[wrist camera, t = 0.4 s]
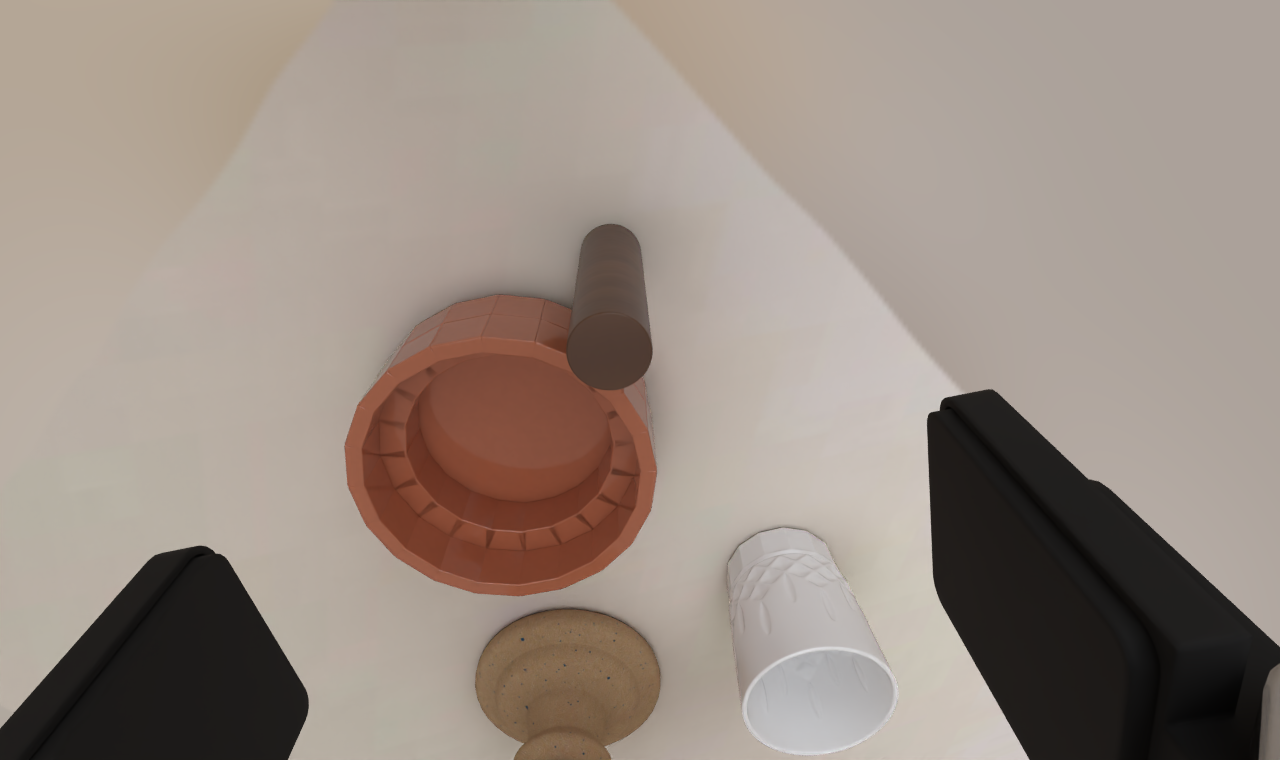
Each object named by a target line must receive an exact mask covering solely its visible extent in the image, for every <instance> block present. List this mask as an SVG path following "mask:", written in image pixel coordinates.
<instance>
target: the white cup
mask: <svg viewBox="0 0 1280 760" xmlns="http://www.w3.org/2000/svg"><path fill="white" fill-rule="evenodd" d="M727 588H728V595H729V601H730V602H729V614H730V622H731V632H732V640H733V651H734V658H735V665H736V672H737V679H738V687H739V694H740V701H741V709H742V716H743V720H744V723H745V725H746V727H747V729H748V730H749V732H750V733H751V734H752V735H753V736H754V737H755V738H756V739H757V740H758V741H759V742H761V743H762V744H764V745H766V746H767V747H769V748H772V749H774V750H776V751H779V752H783V753H787V754H792V755H801V756H817V755H826V754H831V753H836V752H840V751H843V750H846V749H849V748H851V747H854V746H856V745H858V744H860V743H862V742H864V741H866V740H867V739H869V738H870V737H872V736H873V735H874V734H876V733H877V732H878V731H879V730H880V729H881V728H882V727H883V726H884V725H885V724H886V723H887V722H888V720H889V719H890V718H891V716H892V714H893V712H894V710H895V708H896V705H897V702H898V685H897V681H896V678H895V676H894V674H893V672H892V670H891V668H890V666H889V664H888V662H887V660H886V658H885V656H884V654H883V652H882V650H881V648H880V646H879V644H878V642H877V640H876V638H875V636H874V634H873V632H872V630H871V628H870V625H869V623H868V621H867V619H866V616H865V614H864V613H863V611H862V609H861V608H860V606H859V604H858V602H857V600H856V597H855V595H854V594H853V592H852V590H851V588H850V587H849V585H848V582H847V580H846V579H845V578H844V577H843V576H842V574H841V573H840V571H839V569H838V568H837V566H836V563H835V561H834V559H833V557H832V555H831V553H830V551H829V549H828V547H827V545H826V543H825V542H823V541H822V540H820V539H819V538H817V537H815V536H814V535H812V534H811V533H809V532H808V531H804V530H798V529H791V528H784V527H783V528H778V529H773V530H769V531H764V532H760V533H758V534H756V535H755V536H753V537H752V538H750V539H748V540H747V541H745V542H744V543H742V544H741V545H739V547H738V548H737V550H736V551H735V553H734V554H733V556H732V558H731V559H730V561H729V562H728V567H727Z"/></svg>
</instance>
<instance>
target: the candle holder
mask: <svg viewBox="0 0 1280 760" xmlns="http://www.w3.org/2000/svg"><path fill="white" fill-rule="evenodd" d="M475 688H476V693H477V698H478V701H479V703H480V705H481V708H482V710H483V711H484V713H485V714H486V716H487V717H488V719H489V720H490V721H491V722H492V723H493V724H494V725H495V726H496V727H497V728H499V729H500V730H501V731H503V732H504V733H505V734H507V735H508V736H510V737H512V738H514V739H515V740H517V741H520V742H522V743H525V744H524V745H522V747H521V748H520V749H519V750H518V752H517V754H516V755H515V758H514V760H611V757H610V755H609V753H608V751H607V749H606V748H605V747H604V746H606V745H609V744H611V743H614V742H616V741H619V740H620V739H622V738H624V737H626V736H628V735H629V734H631V733H632V732H633V731H635V730H636V729H637V728H639V727H640V726H641V725H642V724H643V723H644V722H645V721H646V720H647V718H648V717H649V715H650V714H651V712H652V711H653V709H654V707H655V704H656V702H657V700H658V697H659V692H660V670H659V666H658V662H657V659H656V657H655V655H654V653H653V651H652V649H651V647H650V646H649V645H648V643H647V642H646V641H645V639H644V638H642V637H641V636H640V635H639V634H638V633H637V632H636V631H635V630H633V629H632V628H630V627H629V626H627V625H626V624H624V623H622V622H620V621H618V620H616V619H614V618H612V617H609V616H606V615H603V614H600V613H595V612H590V611H585V610H573V609H564V610H551V611H546V612H540V613H536V614H533V615H530V616H527V617H524V618H522V619H520V620H518V621H515V622H513V623H512V624H510V625H509V626H507V627H506V628H504V629H503V630H501V631H500V632H499V633H498V634H497V635H496V636H495V637H494V638H493V639H492V640H491V641H490V643H489V644H488V645H487V646H486V648H485V650H484V652H483V654H482V656H481V658H480V660H479V663H478V667H477V671H476V681H475Z"/></svg>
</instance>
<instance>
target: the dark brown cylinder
mask: <svg viewBox="0 0 1280 760" xmlns="http://www.w3.org/2000/svg"><path fill="white" fill-rule="evenodd" d="M566 356H567V361H568V364H569V366H570V368H571V370H572V371H573V373H574V374H575V375H576V376H577V377H578V378H579V379H580V380H581V381H582V382H584V383H585V384H587V385H589V386H591V387H593V388H596V389H600V390H619V389H623V388H626V387H628V386H630V385H632V384H634V383H635V382H637V381H638V380H639V379H640V378H641V377H642V376H643V375H644V374H645V373H646V371H647V369H648V368H649V365H650V363H651V359H652V341H651V332H650V323H649V315H648V306H647V298H646V289H645V281H644V272H643V263H642V255H641V248H640V244H639V242H638V240H637V238H636V237H635V235H634V234H633V233H632V232H631V231H629V230H628V229H626V228H625V227H622V226H620V225H615V224H607V225H602V226H599V227H597V228H595V229H593V230H592V231H591V232H590V233H589V234H588V235H587V236H586V238H585V239H584V241H583V243H582V247H581V252H580V259H579V266H578V272H577V279H576V285H575V292H574V298H573V305H572V312H571V318H570V325H569V331H568V338H567V345H566Z"/></svg>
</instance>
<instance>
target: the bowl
mask: <svg viewBox="0 0 1280 760" xmlns="http://www.w3.org/2000/svg"><path fill="white" fill-rule="evenodd" d="M571 312H572V310H571V309H569V308H566V307H564V306H561V305H559V304H556V303H554V302H552V301H549V300H545V299H540V298H530V297H520V296H510V295H494V296H489V297H484V298H479V299H474V300H469V301H464V302H459V303H455V304H454V305H451V306H449V307H448V308H446V309H444V310H442V311H441V312H439V313H437V314H435V315H434V316H432V317H430V318H428V319H427V320H425V321H423V322H421V323H420V324H418V325H417V326H415V328H414V329H413V330H412V331H411V332H410V334H409V335H408V336H407V337H406V338H405V340H404V341H403V342H402V343H401V344H400V345H399V347H398V348H397V349H396V350H395V351H394V353H393V354H392V355H391V356H390V358H389V359H388V361H387V362H386V364H385V365H384V367H383V368H382V370H381V371H380V373H379V374H378V376H377V377H376V379H375V380H374V381H373V383H372V384H371V386H370V387H369V389H368V390H367V392H366V393H365V395H364V396H363V398H362V399H361V401H360V402H359V404H358V405H357V408H356V411H355V414H354V417H353V420H352V423H351V426H350V429H349V433H348V436H347V439H346V442H345V458H346V471H347V484H348V486H349V490H350V492H351V494H352V497H353V499H354V501H355V503H356V505H357V507H358V510H359V512H360V514H361V516H362V518H363V520H364V522H365V524H366V526H367V527H368V528H369V529H370V530H371V531H372V532H373V534H374V535H375V536H376V537H377V538H378V539H379V540H380V541H381V542H382V543H383V544H384V545H385V546H386V548H387V549H388V550H389V551H390V552H391V553H392V554H393V555H394V556H395V557H396V558H398V559H400V560H401V561H403V562H405V563H406V564H408V565H409V566H411V567H413V568H414V569H416V570H418V571H419V572H421V573H422V574H424V575H426V576H427V577H429V578H431V579H433V580H434V581H438V582H441V583H444V584H447V585H450V586H454V587H457V588H460V589H463V590H466V591H470V592H473V593H478V594H493V595H508V596H525V595H530V594H536V593H542V592H547V591H553V590H559V589H563V588H566V587H568V586H570V585H572V584H574V583H576V582H579V581H581V580H583V579H585V578H587V577H589V576H592V575H594V574H596V573H598V572H600V571H602V570H603V569H604V568H605V567H607V566H608V565H609V564H610V563H611V562H612V561H613V560H615V559H616V558H617V557H618V556H619V555H620V554H621V553H622V552H624V551H625V550H626V549H627V548H628V547H629V546H630V545H631V544H632V543H633V541H634V539H635V538H636V536H637V534H638V532H639V531H640V529H641V527H642V525H643V524H644V522H645V520H646V518H647V517H648V515H649V513H650V511H651V508H652V502H653V495H654V489H655V482H656V476H657V464H656V453H655V443H654V432H653V422H652V414H651V409H650V404H649V400H648V395H647V391H646V386H645V382H644V380H643V377H641V378H640V379H639V380H638V381H637V382H635V383H634V384H632V385H630V386H628V387H626V388H623V389H619V390H600V389H596V388H593V387H591V386H589V385H587V384H585V383H584V382H582V381H581V380H580V379H579V378H578V377H577V376H576V375H575V374H574V373H573V371H572V370H571V368H570V366H569V364H568V361H567V356H566V345H567V338H568V331H569V325H570V318H571Z"/></svg>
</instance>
